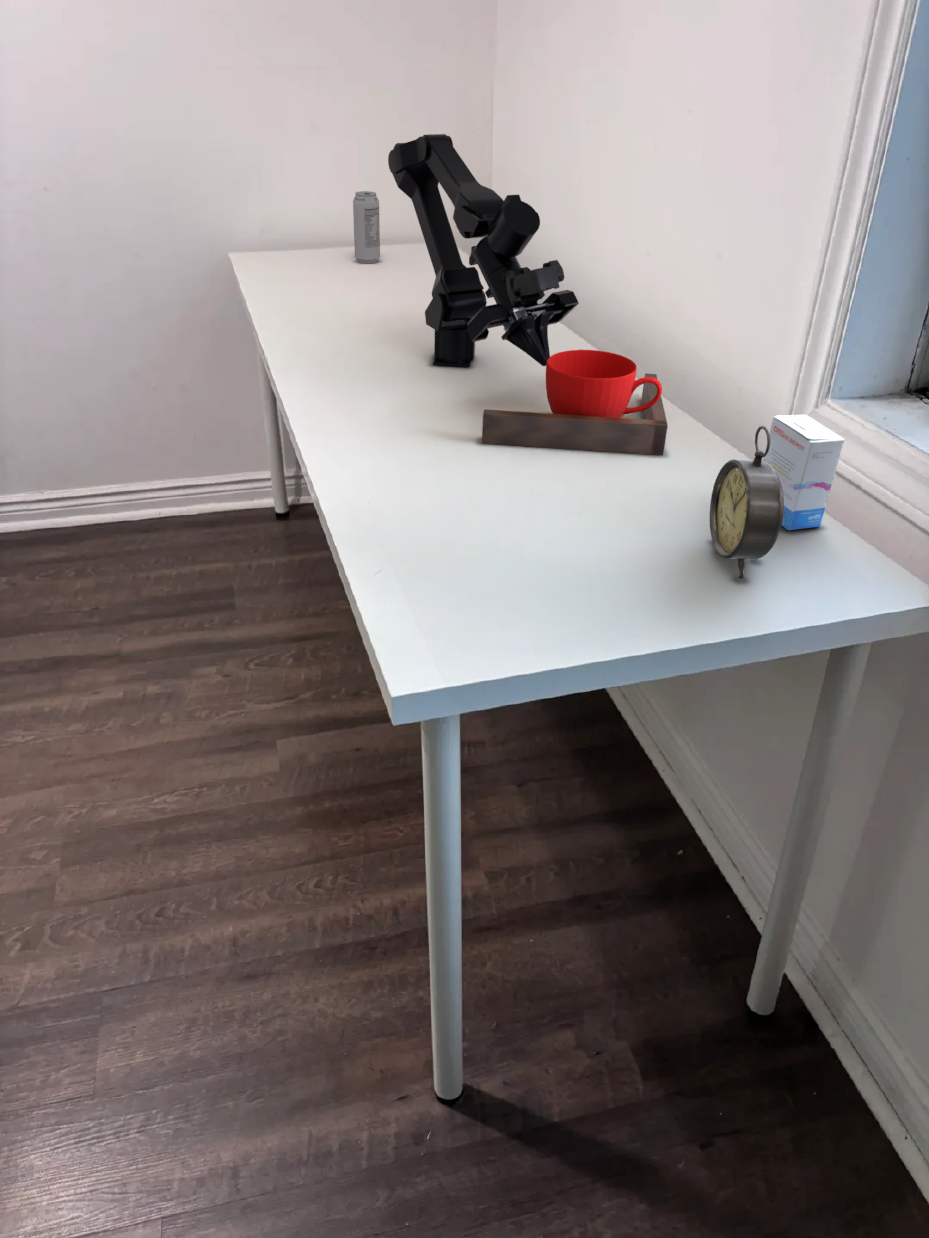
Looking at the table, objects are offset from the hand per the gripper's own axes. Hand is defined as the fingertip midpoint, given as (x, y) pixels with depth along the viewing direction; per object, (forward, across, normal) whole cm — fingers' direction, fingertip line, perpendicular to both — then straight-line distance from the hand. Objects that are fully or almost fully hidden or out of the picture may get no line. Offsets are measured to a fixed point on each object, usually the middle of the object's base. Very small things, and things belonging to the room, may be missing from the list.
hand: (547, 364), depth 144 cm
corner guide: (+9, 0, 0) cm, 10 cm away
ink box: (+36, 0, -27) cm, 45 cm away
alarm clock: (+39, -15, -29) cm, 51 cm away
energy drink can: (-62, +33, +73) cm, 101 cm away
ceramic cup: (+13, 0, -3) cm, 13 cm away
